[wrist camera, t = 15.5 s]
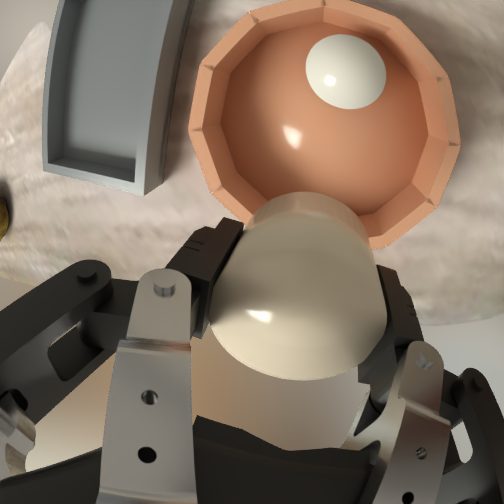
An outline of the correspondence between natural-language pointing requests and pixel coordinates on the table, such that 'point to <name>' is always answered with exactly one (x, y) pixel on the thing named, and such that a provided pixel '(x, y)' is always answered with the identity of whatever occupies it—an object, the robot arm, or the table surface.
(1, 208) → the potato
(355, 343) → the pebble
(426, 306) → the table surface
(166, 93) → the tray
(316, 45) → the pebble
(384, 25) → the bowl
